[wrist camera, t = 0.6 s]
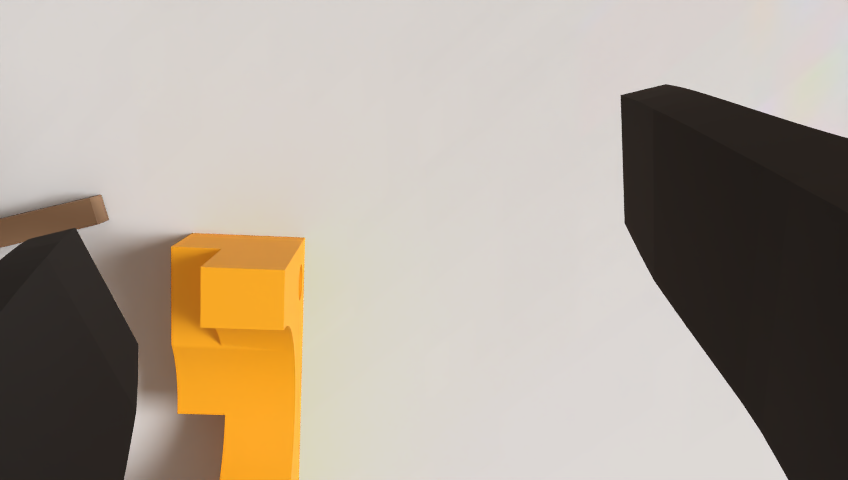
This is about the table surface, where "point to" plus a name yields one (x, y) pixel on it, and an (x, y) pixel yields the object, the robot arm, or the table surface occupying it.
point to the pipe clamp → (242, 345)
